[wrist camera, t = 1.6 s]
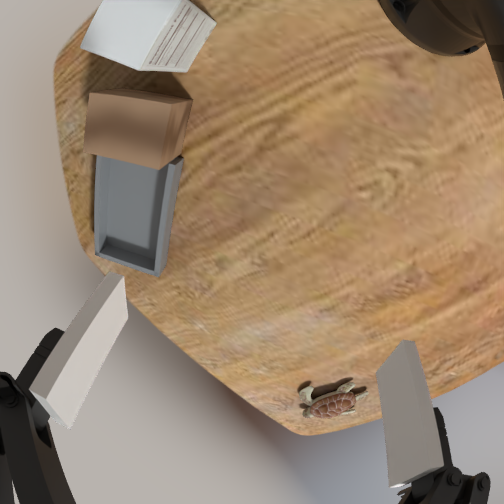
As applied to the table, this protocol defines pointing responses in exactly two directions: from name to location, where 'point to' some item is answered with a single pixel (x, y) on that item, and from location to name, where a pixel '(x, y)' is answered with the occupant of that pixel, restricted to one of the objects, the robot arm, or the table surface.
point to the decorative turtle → (330, 402)
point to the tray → (135, 212)
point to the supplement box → (149, 33)
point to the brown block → (136, 126)
